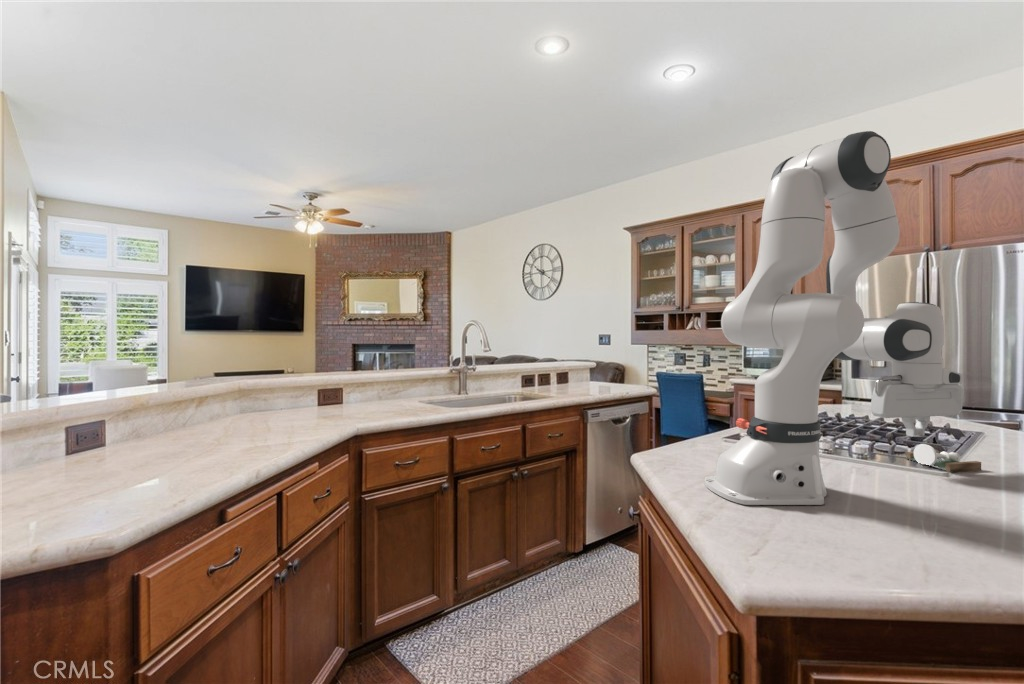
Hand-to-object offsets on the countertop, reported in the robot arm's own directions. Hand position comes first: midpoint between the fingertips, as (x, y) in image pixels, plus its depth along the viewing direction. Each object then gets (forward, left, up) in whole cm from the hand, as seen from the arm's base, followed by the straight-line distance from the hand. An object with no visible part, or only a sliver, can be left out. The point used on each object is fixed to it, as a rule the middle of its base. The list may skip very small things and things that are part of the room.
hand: (915, 436), depth 109 cm
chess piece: (+3, 0, -5) cm, 5 cm away
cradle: (+8, 0, -7) cm, 10 cm away
